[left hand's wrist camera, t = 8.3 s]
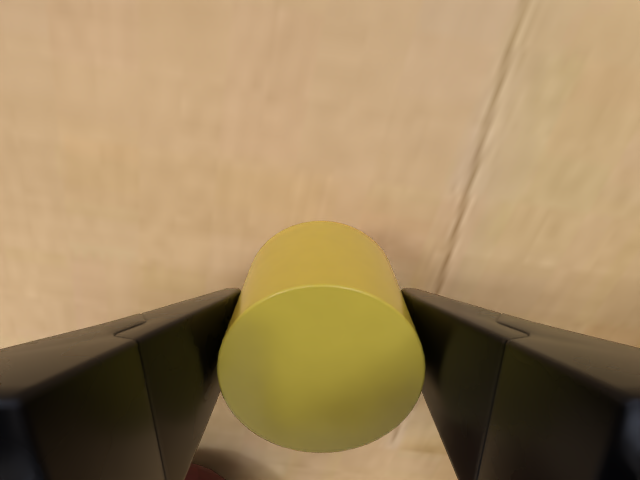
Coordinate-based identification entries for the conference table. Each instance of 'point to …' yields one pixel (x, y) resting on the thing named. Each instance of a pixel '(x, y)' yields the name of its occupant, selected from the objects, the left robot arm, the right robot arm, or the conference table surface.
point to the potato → (201, 473)
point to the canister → (321, 342)
